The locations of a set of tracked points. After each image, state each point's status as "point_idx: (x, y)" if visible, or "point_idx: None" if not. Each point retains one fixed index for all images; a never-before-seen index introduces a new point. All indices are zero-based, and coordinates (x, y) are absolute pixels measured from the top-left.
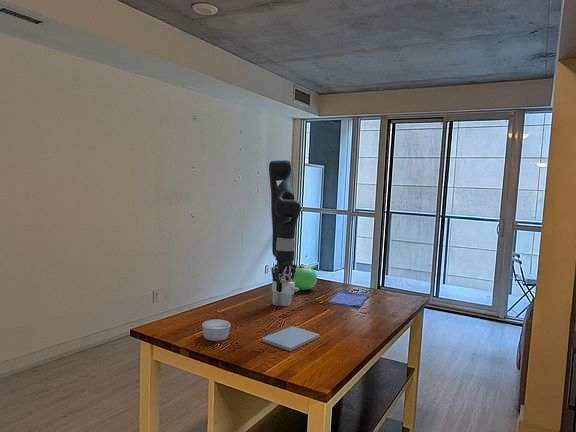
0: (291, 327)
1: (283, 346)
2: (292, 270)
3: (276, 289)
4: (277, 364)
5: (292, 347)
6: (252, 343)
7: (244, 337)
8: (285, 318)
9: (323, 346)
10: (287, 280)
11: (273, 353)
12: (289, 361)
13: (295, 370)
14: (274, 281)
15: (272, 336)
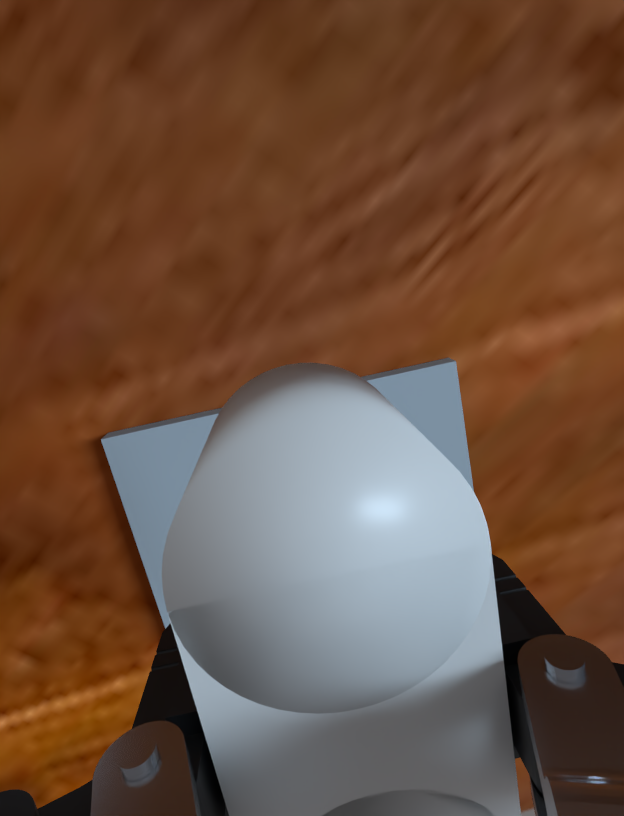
0: (428, 382)
1: (158, 600)
2: None
3: (168, 629)
4: (11, 720)
5: None
6: (31, 431)
7: (34, 309)
8: (591, 125)
9: None
10: (508, 743)
11: (69, 612)
12: (89, 721)
13: (55, 799)
14: (174, 603)
15: (189, 451)
